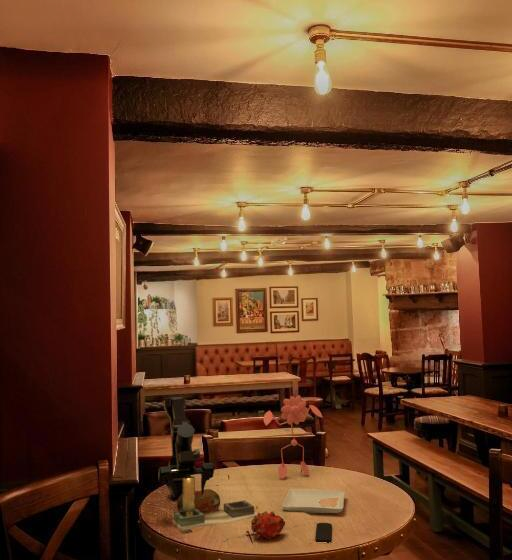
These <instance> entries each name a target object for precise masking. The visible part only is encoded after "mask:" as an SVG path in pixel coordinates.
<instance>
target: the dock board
mask: <svg viewBox="0 0 512 560" xmlns="http://www.w3.org/2000/svg"><path fill="white" fill-rule="evenodd" d="M257 513H258V512H257V511H255V506H254V505H253V504H251V503H250V502H248V501H246V500H245V499H244V500H240V501H233V502H225V503H223V510H217V511H216V512H215V511H213V512H203V513H202V512H200V511H199V510H198V509H197V508H195V515H194V516H188V517H183V511H178V510H176V511H173V518H171V523H172V522H173V523H172V524H173V526H175V527H176V528H177V529H178V530H179V531H180V533H182V534H187V533H191V532H192V531H193V530H192V529H197V528H202V527H210V526H215V525H219V524H220V525H221V524H225V523H231V522H236V521H242V520H246V519H247V520H249V519H254V517H255V516H258V514H257ZM186 532H187V533H186Z"/></svg>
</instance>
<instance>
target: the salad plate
mask: <svg viewBox="0 0 512 560" xmlns="http://www.w3.org/2000/svg"><path fill="white" fill-rule="evenodd" d="M345 497H346V491H344V490H332V489H312V488H290V489H288V492H287V495H286V497H285V499H284V500H283V502H282V504H281V508H282V509H283V510H285V511H288V512H304V513H305V514H316V513H335V514H339V513H340V512H342V511H343V509H344V504H345V503H344V502H345ZM324 498H325V499H327V498H339V499H338V501H337V505H336V506H335V507H331V506H330V505H329V504H328V505H329V507H328V506H326V505H325V506H326V507H321V506H322V505H321V504H320V503H319V502H320V500H321V499H324ZM320 505H321V506H320Z"/></svg>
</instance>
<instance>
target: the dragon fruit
mask: <svg viewBox="0 0 512 560" xmlns="http://www.w3.org/2000/svg"><path fill="white" fill-rule="evenodd" d="M257 514H258V516H255V517H254V518H251V519H252V520H251V521H250V522H251V526H250V528H251V531H252V532H253V536H254V537H258V536H259V539H261V540H263V539H264V538H265V539H266V540H269V541H271V540H272V538H279V537H280V536H281V534H280V533H281V532H282V531H283V529H284V527H285V526H286V521H285V519H284V518H282V516H280V515H276V514H275V512H274V511H270V512H269V513H268V511H267V510H265V511H264V512H262V513H261V512H257Z"/></svg>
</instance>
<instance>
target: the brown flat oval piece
mask: <svg viewBox="0 0 512 560" xmlns="http://www.w3.org/2000/svg"><path fill="white" fill-rule="evenodd" d="M220 507H221V497H220V495H219V494H218V492H217V491H215V490H213V489H210V488H208V489H207V488H206V489H205V488H204V492H203V495H202V493H201V489H198V490H196V489H195V508H197V509H198V510H199V511H200V512H202V513H203V514H204V513H210V512H216V511H219V508H220ZM176 508H177V511H183V494H181V495H180V497H179V498H178V500H176Z"/></svg>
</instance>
